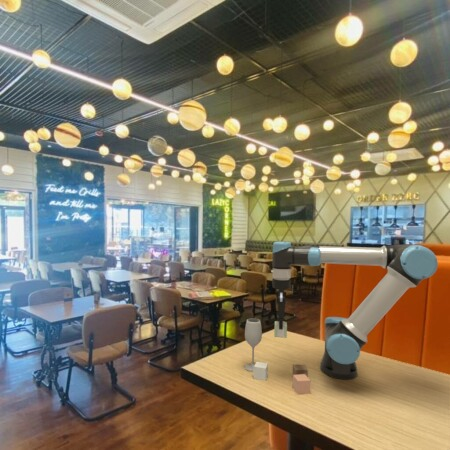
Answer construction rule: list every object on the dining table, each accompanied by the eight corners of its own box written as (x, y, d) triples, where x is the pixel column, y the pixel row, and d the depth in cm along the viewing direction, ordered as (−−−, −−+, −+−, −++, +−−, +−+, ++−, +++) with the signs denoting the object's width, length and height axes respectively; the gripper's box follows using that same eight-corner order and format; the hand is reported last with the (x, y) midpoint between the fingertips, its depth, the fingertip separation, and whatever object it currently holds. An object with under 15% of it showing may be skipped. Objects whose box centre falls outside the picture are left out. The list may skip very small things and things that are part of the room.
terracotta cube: (304, 386, 119) (304, 374, 119) (310, 393, 114) (310, 380, 114) (292, 387, 118) (292, 374, 118) (297, 394, 113) (297, 381, 113)
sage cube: (286, 333, 129) (286, 322, 129) (286, 337, 124) (286, 325, 124) (274, 332, 130) (274, 321, 130) (274, 336, 125) (274, 324, 125)
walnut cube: (304, 376, 127) (304, 364, 128) (307, 382, 122) (307, 370, 123) (292, 376, 128) (292, 364, 128) (295, 382, 123) (295, 369, 123)
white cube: (267, 375, 128) (267, 363, 128) (265, 380, 123) (265, 368, 123) (256, 373, 130) (256, 361, 130) (253, 378, 125) (253, 366, 125)
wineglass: (260, 372, 130) (261, 323, 130) (243, 370, 132) (243, 322, 132) (262, 364, 138) (262, 318, 138) (245, 363, 139) (246, 317, 139)
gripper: (273, 275, 137) (272, 327, 136) (271, 281, 119) (270, 341, 119) (290, 275, 135) (289, 328, 135) (291, 282, 118) (290, 343, 117)
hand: (280, 334), depth 127 cm, fingers closed on sage cube, 5 cm apart
